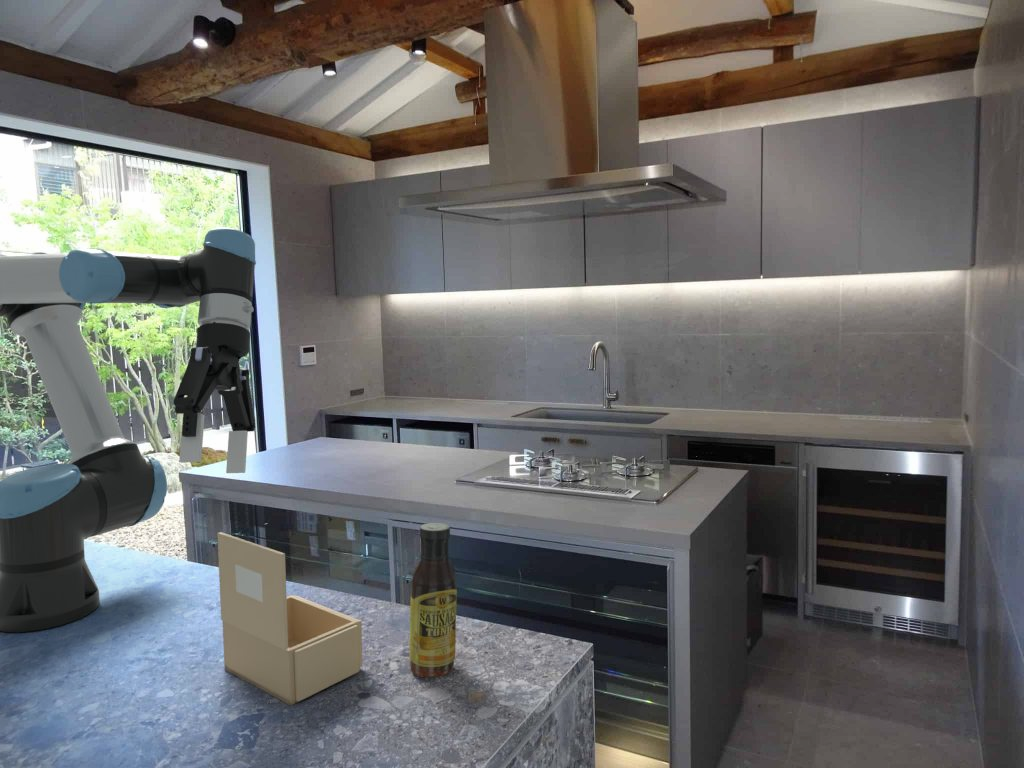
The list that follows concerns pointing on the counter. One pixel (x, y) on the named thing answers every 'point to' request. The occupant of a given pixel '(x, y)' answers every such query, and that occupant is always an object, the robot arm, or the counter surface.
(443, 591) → the sauce bottle
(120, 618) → the counter surface
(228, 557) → the flap
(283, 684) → the wooden box
